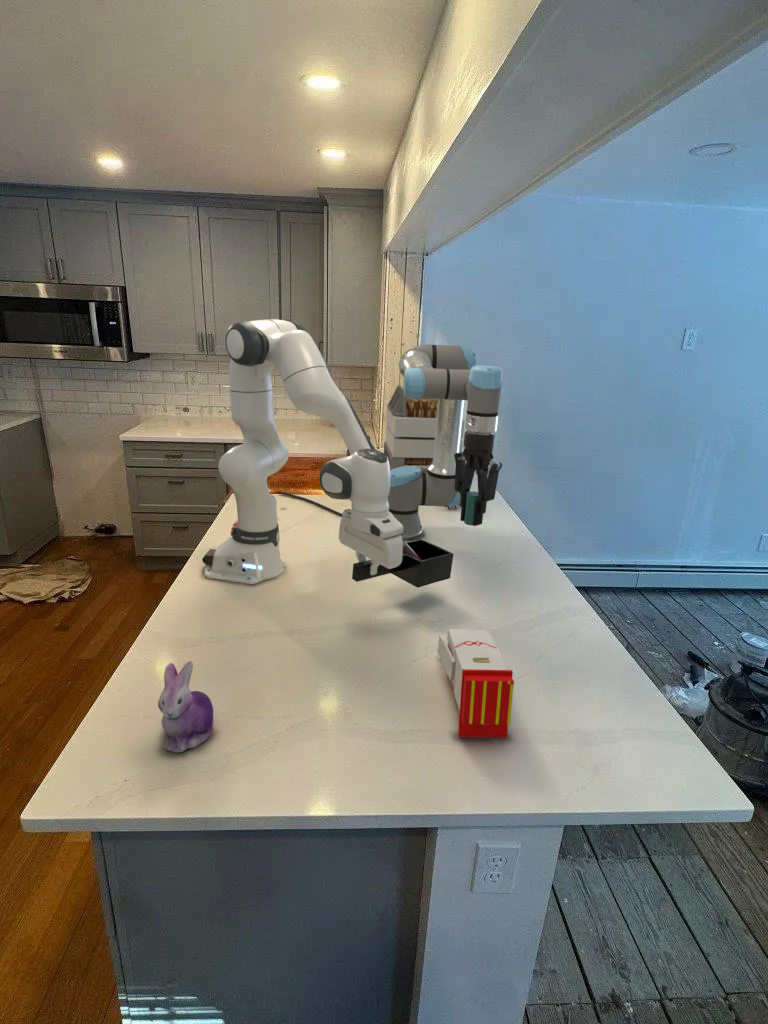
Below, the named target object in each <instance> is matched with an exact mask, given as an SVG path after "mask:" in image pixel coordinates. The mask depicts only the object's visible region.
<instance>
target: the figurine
mask: <svg viewBox="0 0 768 1024" xmlns="http://www.w3.org/2000/svg"><path fill="white" fill-rule="evenodd" d="M193 669H194V662H193V661H191V660H190V661H188V662H186V663H185V664H184V665H183V667H182V668H181V669H180V671H179V672H178V671H177V668H176V666H175V664H174V663H173V662H169V663H168V664H167V665H166V666H165V670H164V672H163V684H164V687H163V690H162V691H161V693H160V695H159V698H158V702H157V706H158V709H159V711H160V712H161V713H162V717H161V726H162V729H163V731H164V734H165V740H164V749H165V750H166V751H169V752H172V753H183V752H184V751H186V750H188V749H194V748H196V747H198V746H200V745H201V744H203V743H204V742H205V741H206V740H207V739H208V738H209V737H211V736H212V733H213V725H214V724H213V723H214V706H213V703H212V701H211V698H210V697H209V696H208V695H207V694H206V693H205V692H203V691H200V690H192V691H191V690H190V688H189V684H190V681H191V679H192V674H193Z"/></svg>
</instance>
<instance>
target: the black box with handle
mask: <svg viewBox="0 0 768 1024" xmlns="http://www.w3.org/2000/svg"><path fill="white" fill-rule="evenodd" d="M405 542H406V543H407V544H408V545H409V546H410V547H411V549H412V550H413V551H414V552H415V553H416V554H417V555H418V556H419V558H420V559H421V560H422V561H420V560H418V559H416V558H414V557H412V556H410V555H408V554H406V553H404V552H403V555H402V562H401V564H400V565H399V566H397V567H394V568H391V569H388V568H386V567H384V566H382V565H381V564H379V566H378V567H377V573H376V574H375V575H371V574H369V573H368V567H370V566H371V565H372V563H371V559H366V561H363V562H359V561H358V562H355V563H353V564H352V573H351V580H353V581H354V582H356V583H357V582H361V581H366V580H369V579H374V578H378V577H381V576H385V575H389V574H391V575H393V576H395V577H397V578H399V579H400V580H402V581H404V582H406V583H408V584H409V585H411V586H414V587H415V588H421V587H425V586H428V585H431V584H436V583H439V582H442V581H445V580H449V579H451V577H452V576H451V575H452V567H453V561H454V553H453V552H451V551H449V550H447V549H444V548H442V547H441V546H438V545H436V544H434V543H431V542H429V541H427V540H425V539H422V538H420V539H414V540H409V541H405Z"/></svg>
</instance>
